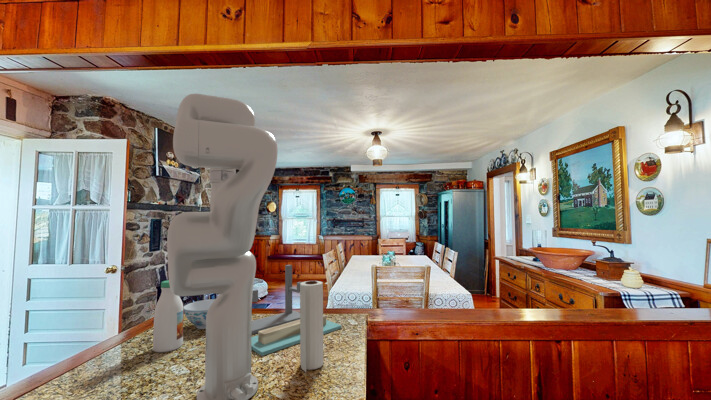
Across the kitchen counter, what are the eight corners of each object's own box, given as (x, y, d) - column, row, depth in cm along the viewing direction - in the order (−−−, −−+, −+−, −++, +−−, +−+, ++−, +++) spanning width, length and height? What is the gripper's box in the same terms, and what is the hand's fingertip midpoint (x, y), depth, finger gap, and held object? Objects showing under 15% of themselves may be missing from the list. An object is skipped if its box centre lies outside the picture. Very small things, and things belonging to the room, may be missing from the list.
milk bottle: (168, 354, 87) (170, 283, 89) (146, 352, 89) (148, 283, 90) (188, 343, 95) (189, 278, 96) (167, 341, 96) (169, 278, 98)
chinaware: (195, 336, 100) (195, 313, 101) (175, 327, 109) (176, 305, 110) (236, 323, 112) (236, 302, 113) (215, 316, 121) (216, 297, 122)
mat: (341, 328, 106) (341, 325, 106) (262, 356, 85) (262, 352, 85) (318, 319, 115) (318, 317, 115) (242, 343, 94) (242, 339, 94)
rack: (307, 318, 117) (307, 266, 118) (247, 335, 100) (248, 274, 102) (293, 313, 124) (292, 264, 125) (235, 328, 107) (235, 271, 109)
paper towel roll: (313, 357, 84) (313, 279, 85) (328, 364, 79) (327, 281, 81) (291, 366, 78) (291, 283, 80) (305, 374, 74) (305, 286, 76)
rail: (326, 324, 107) (326, 315, 108) (263, 344, 90) (264, 334, 91) (320, 322, 110) (319, 313, 110) (258, 341, 93) (258, 331, 93)
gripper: (246, 176, 91) (246, 233, 90) (224, 182, 103) (223, 232, 102) (221, 174, 86) (220, 234, 85) (200, 180, 98) (199, 233, 97)
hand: (222, 233), depth 93 cm, fingers open, 9 cm apart
